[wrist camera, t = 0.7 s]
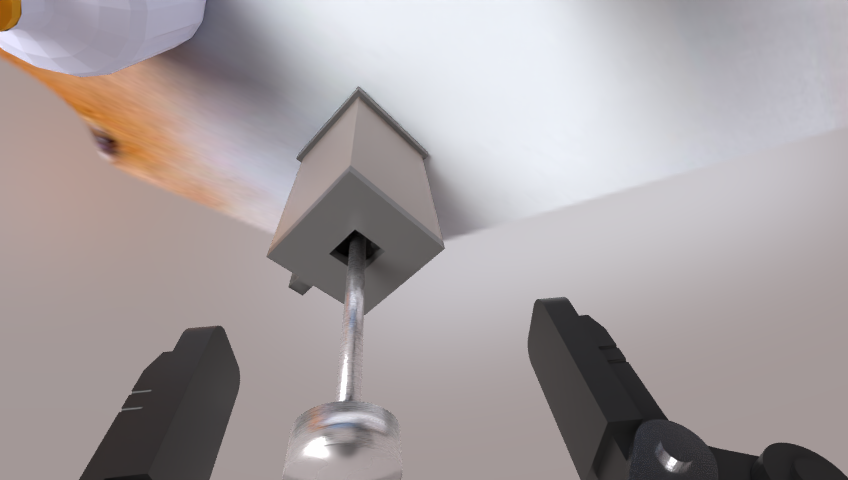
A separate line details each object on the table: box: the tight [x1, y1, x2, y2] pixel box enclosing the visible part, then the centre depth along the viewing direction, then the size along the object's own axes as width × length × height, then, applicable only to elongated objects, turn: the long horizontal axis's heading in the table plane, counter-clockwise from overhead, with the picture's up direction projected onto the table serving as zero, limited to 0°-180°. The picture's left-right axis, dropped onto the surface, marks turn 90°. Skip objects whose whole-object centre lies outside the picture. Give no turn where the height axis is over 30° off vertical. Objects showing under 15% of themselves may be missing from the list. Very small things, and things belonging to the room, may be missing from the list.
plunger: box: [283, 229, 402, 480], centre depth 21 cm, size 6×6×17 cm
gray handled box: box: [267, 87, 444, 315], centre depth 31 cm, size 11×8×16 cm
